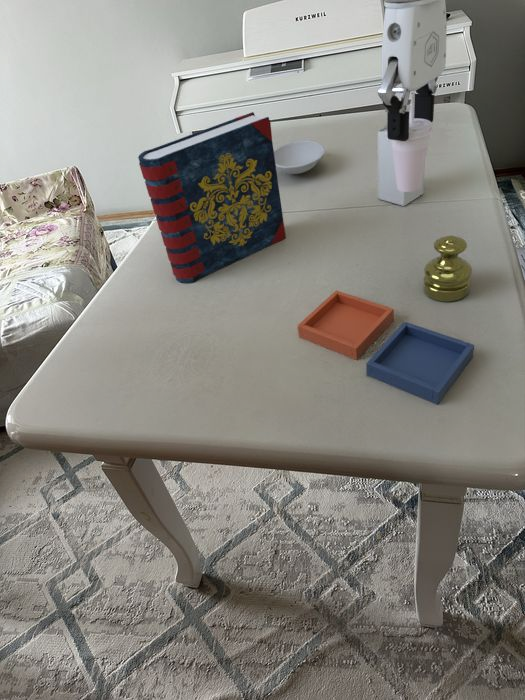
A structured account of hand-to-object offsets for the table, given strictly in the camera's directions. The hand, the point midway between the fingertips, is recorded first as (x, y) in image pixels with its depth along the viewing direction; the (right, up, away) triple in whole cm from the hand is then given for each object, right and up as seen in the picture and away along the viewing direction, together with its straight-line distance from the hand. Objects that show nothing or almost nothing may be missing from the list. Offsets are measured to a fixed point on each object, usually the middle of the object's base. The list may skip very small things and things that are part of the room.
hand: (410, 129), depth 78 cm
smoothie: (+1, -7, +6) cm, 9 cm away
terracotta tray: (-9, -30, +7) cm, 32 cm away
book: (-29, -14, +30) cm, 44 cm away
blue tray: (+1, -35, -2) cm, 35 cm away
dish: (-13, +13, +58) cm, 61 cm away
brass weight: (+9, -23, +11) cm, 27 cm away
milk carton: (+9, +1, +39) cm, 40 cm away
